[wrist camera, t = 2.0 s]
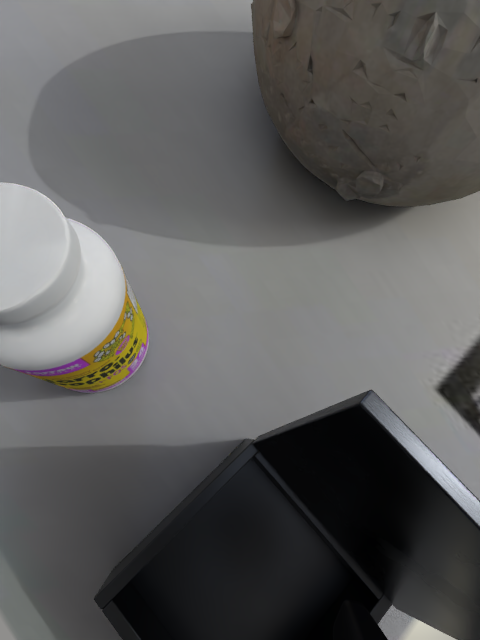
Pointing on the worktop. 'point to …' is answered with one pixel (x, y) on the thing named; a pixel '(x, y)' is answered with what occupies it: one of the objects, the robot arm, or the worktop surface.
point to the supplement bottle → (64, 299)
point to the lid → (388, 507)
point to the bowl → (375, 93)
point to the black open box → (237, 565)
